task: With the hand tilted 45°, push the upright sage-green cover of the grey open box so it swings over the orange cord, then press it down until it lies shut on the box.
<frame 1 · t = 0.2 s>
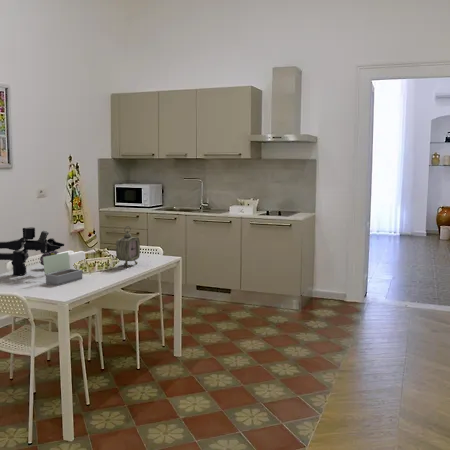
hand: (62, 246, 313), 16 cm above the table, tool horizontal, fingers open, 9 cm apart
cable organizer: (70, 271, 323), on the table
tabletop clock: (128, 265, 339), on the table
decorative flower: (52, 268, 333), on the table
grey open box: (64, 281, 296), on the table
duct cover: (56, 262, 297), point 10 cm above the table, hinge at -96.0°
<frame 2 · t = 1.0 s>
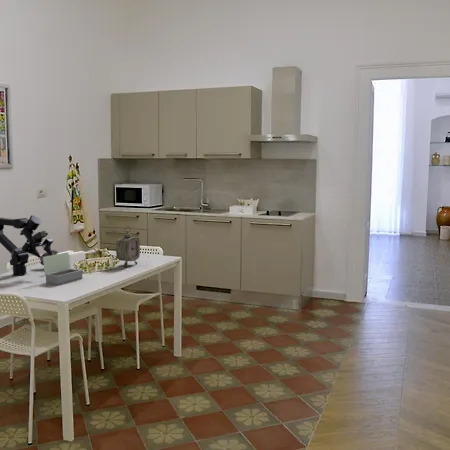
hand: (46, 256, 302), 13 cm above the table, tool tilted 45°, fingers open, 8 cm apart
nothing on the table moved.
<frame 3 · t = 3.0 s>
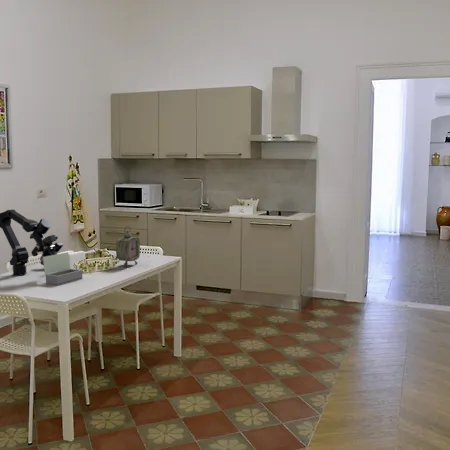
hand: (55, 260, 298), 11 cm above the table, tool tilted 45°, fingers closed, pressing on duct cover
duct cover: (56, 262, 297), point 10 cm above the table, hinge at -96.0°, touching gripper
everything else where it was.
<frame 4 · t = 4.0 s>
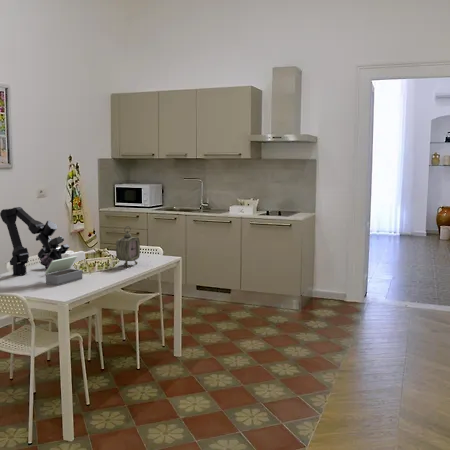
hand: (61, 262, 295), 10 cm above the table, tool tilted 45°, fingers closed, pressing on duct cover
duct cover: (61, 264, 296), point 9 cm above the table, hinge at -51.3°, touching gripper
everything else where it was.
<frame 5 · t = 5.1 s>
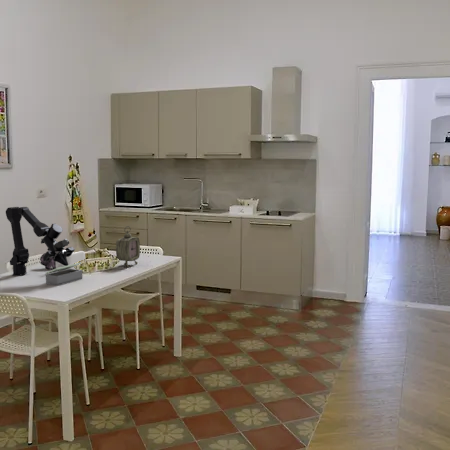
hand: (67, 265, 294), 9 cm above the table, tool tilted 45°, fingers closed, pressing on duct cover
duct cover: (63, 268, 295), point 7 cm above the table, hinge at -21.5°, touching gripper
everything else where it was.
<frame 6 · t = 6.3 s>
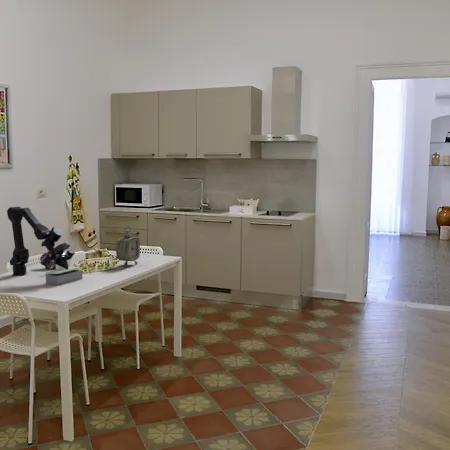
hand: (67, 268, 294), 7 cm above the table, tool tilted 45°, fingers closed
duct cover: (64, 270, 295), point 6 cm above the table, hinge at -6.7°
everything else where it was.
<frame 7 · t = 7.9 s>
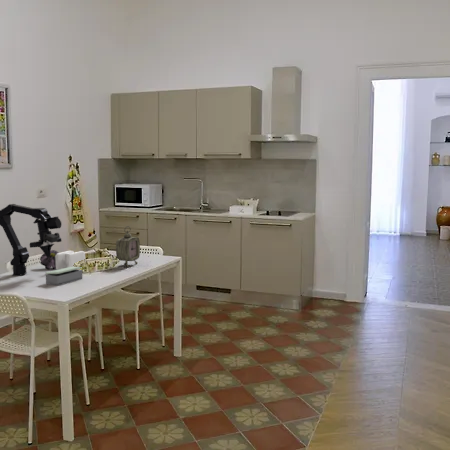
hand: (48, 257, 308), 11 cm above the table, tool pointing down, fingers closed
nothing on the table moved.
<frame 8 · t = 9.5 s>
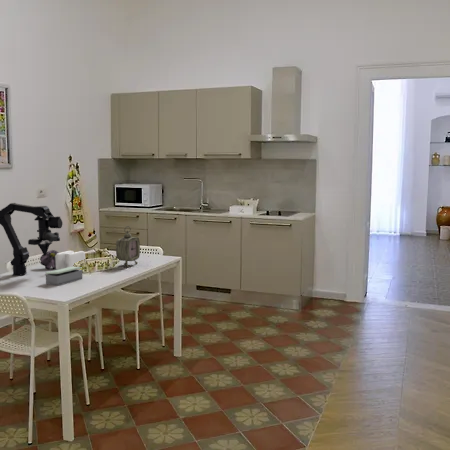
hand: (45, 254, 310), 12 cm above the table, tool pointing down, fingers closed
nothing on the table moved.
at the end: duct cover at -7° (first picture: -96°); cable organizer moved 0.3 cm from its start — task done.
